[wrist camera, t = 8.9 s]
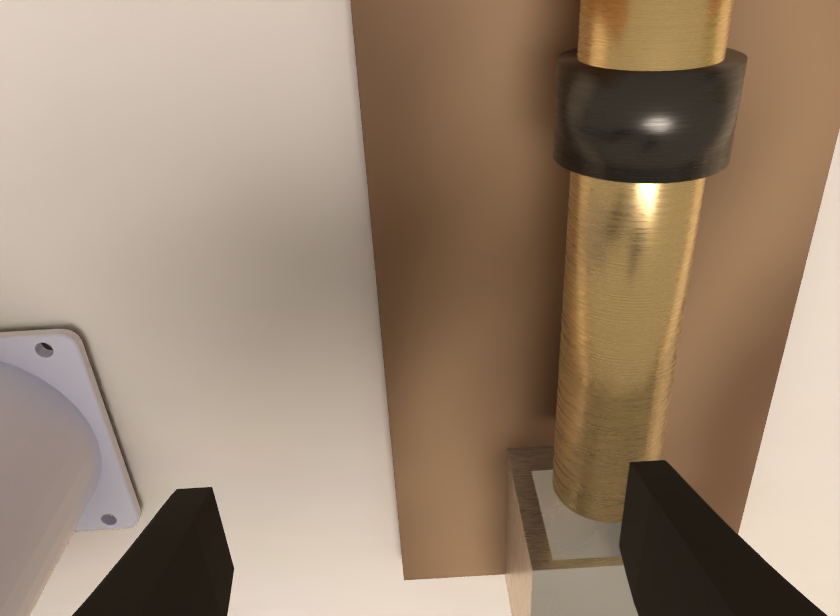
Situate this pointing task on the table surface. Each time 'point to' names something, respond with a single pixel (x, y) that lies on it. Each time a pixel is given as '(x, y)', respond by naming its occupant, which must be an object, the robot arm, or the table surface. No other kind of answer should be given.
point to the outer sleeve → (558, 548)
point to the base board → (564, 252)
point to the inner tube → (632, 224)
